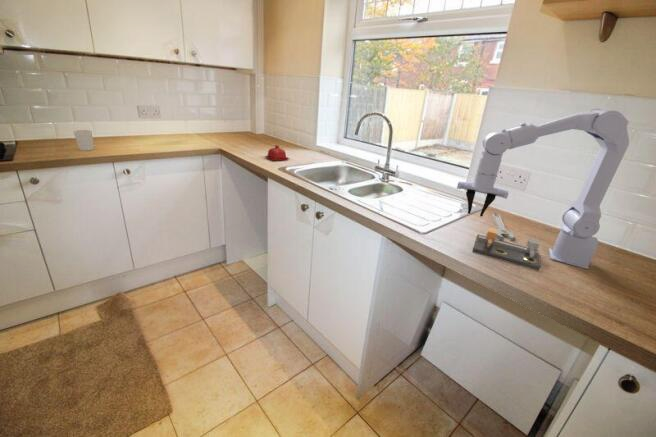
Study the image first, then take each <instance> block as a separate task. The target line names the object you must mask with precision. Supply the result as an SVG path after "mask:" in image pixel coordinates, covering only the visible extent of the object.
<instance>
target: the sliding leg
mask: <svg viewBox="0 0 656 437" xmlns="http://www.w3.org/2000/svg"><path fill="white" fill-rule="evenodd" d="M487 230H488V231H487V233H486V236H485V237H486V240H488V246H487V247H488V248H489V247H490V245H491V243H492V242H494V241H495V239H497V238H496V235H497V230H498V229H497V228H493V227H488V229H487Z"/></svg>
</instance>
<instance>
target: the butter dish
mask: <svg viewBox="0 0 656 437" xmlns="http://www.w3.org/2000/svg"><path fill="white" fill-rule="evenodd" d="M267 151H268V152H267V155H264V157H265V158H266V159H269V160H270V161H274V162H278V161H287V160H290V158H289V157H287V154H286V151H285V150H284V149H283V148H281V147H280V145H274V147H271V148H269V149H268V150H267Z"/></svg>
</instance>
